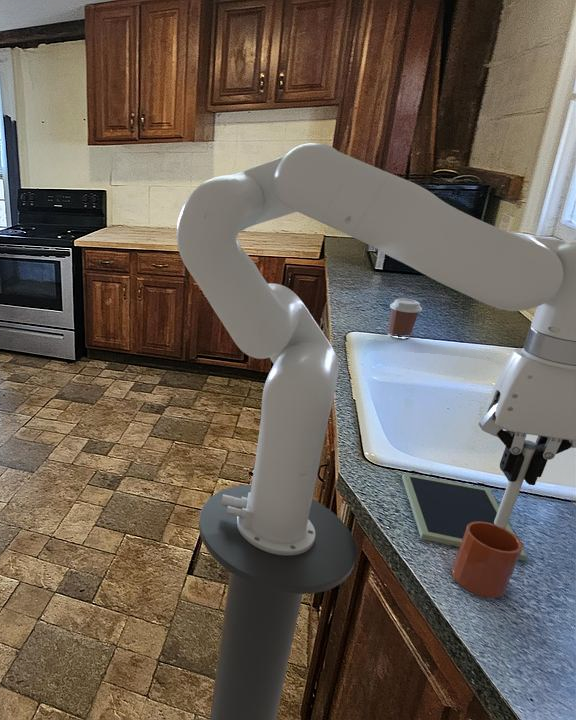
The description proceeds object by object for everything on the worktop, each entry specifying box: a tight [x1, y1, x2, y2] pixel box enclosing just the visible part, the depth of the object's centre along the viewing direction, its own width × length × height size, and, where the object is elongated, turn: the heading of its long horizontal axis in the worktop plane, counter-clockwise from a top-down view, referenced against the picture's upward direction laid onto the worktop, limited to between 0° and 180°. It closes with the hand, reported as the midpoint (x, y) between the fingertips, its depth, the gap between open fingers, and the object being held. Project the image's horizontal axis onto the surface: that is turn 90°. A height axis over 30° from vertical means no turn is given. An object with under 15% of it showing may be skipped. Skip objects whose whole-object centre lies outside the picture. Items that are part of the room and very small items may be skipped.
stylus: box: [494, 439, 537, 528], centre depth 70 cm, size 1×1×13 cm
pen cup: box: [451, 521, 524, 599], centre depth 75 cm, size 6×6×8 cm
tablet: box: [401, 472, 528, 562], centre depth 90 cm, size 14×18×1 cm
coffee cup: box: [387, 298, 423, 337], centre depth 172 cm, size 9×9×12 cm
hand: (517, 476), depth 70 cm, fingers closed on stylus, 1 cm apart
